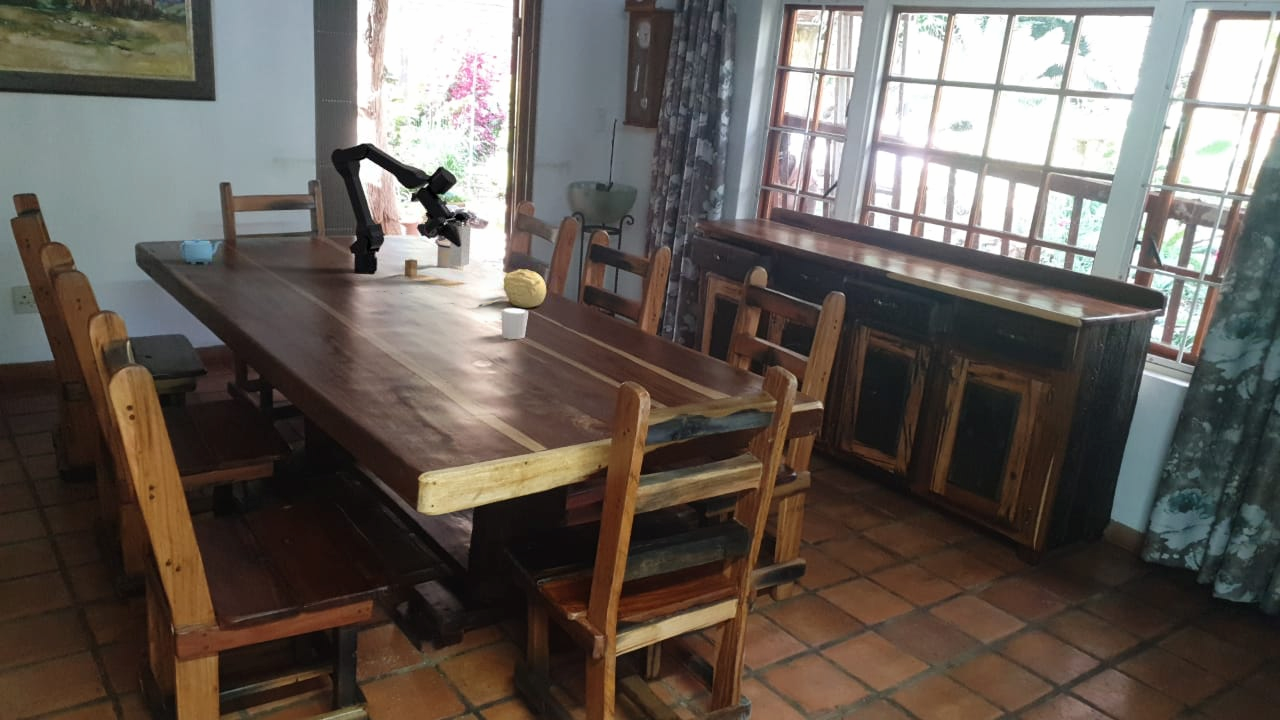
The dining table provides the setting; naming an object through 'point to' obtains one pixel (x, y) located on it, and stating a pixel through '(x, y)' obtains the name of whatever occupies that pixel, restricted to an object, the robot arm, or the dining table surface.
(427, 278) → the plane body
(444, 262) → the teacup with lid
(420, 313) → the dining table surface
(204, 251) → the teapot
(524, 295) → the yellow lumpy ball
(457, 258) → the tall grey block
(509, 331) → the shot glass
